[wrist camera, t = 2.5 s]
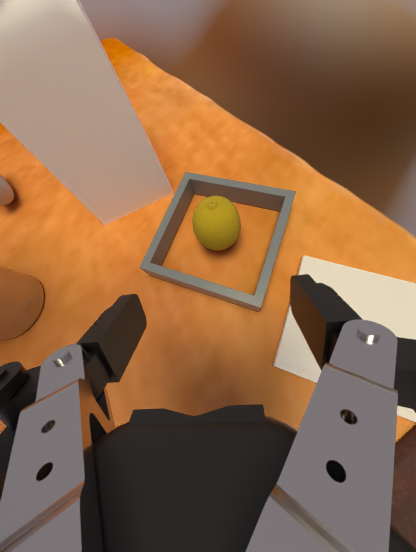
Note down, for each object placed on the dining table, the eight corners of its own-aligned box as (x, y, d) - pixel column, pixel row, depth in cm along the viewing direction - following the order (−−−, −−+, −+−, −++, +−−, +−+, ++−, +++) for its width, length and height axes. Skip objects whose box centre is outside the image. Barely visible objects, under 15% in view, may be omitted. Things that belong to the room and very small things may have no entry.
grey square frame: (149, 275, 28) (139, 267, 25) (190, 187, 31) (185, 171, 29) (258, 312, 24) (260, 307, 21) (290, 207, 28) (295, 191, 25)
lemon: (227, 216, 29) (222, 171, 21) (248, 246, 27) (251, 208, 19) (193, 236, 29) (175, 197, 21) (212, 267, 27) (200, 237, 19)
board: (272, 365, 22) (274, 366, 21) (301, 258, 25) (303, 255, 24) (415, 421, 19) (424, 425, 18) (427, 290, 22) (435, 288, 21)
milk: (152, 146, 36) (-41, -282, 11) (174, 192, 32) (-52, -316, 7) (90, 175, 36) (-232, -185, 11) (104, 225, 32) (-349, -167, 7)
